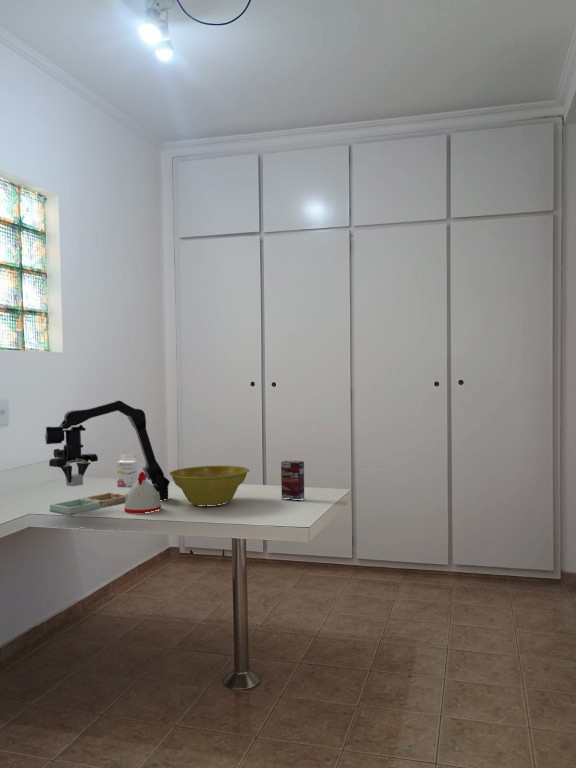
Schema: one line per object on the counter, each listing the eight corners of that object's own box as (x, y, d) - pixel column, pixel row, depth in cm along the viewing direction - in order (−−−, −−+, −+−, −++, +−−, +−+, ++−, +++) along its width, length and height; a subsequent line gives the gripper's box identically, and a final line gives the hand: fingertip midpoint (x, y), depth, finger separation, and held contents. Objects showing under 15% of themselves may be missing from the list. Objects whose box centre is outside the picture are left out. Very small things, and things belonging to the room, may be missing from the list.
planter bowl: (164, 499, 278) (163, 467, 278) (238, 493, 289) (237, 462, 288) (177, 515, 248) (176, 479, 247) (259, 507, 258) (259, 473, 258)
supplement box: (281, 500, 273) (280, 461, 272) (286, 498, 277) (285, 460, 276) (299, 501, 269) (299, 462, 268) (305, 499, 273) (304, 461, 272)
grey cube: (83, 484, 262) (82, 474, 262) (73, 486, 259) (72, 476, 259) (76, 483, 265) (75, 473, 265) (66, 485, 262) (66, 475, 261)
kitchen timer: (119, 514, 252) (118, 475, 252) (130, 506, 266) (129, 469, 266) (156, 514, 251) (155, 474, 251) (164, 506, 265) (163, 469, 265)
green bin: (100, 508, 264) (100, 501, 264) (69, 514, 253) (69, 508, 253) (80, 504, 272) (80, 498, 272) (50, 510, 261) (49, 504, 260)
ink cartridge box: (116, 486, 312) (116, 455, 311) (120, 484, 317) (119, 454, 316) (134, 486, 311) (133, 455, 311) (138, 484, 316) (137, 454, 315)
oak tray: (130, 501, 276) (130, 495, 276) (102, 507, 264) (102, 501, 264) (110, 498, 284) (110, 492, 283) (82, 504, 272) (82, 498, 272)
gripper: (81, 439, 274) (82, 476, 274) (40, 443, 259) (41, 483, 259) (98, 440, 267) (99, 479, 267) (57, 445, 252) (58, 486, 253)
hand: (74, 481), depth 262 cm, fingers closed on grey cube, 4 cm apart
